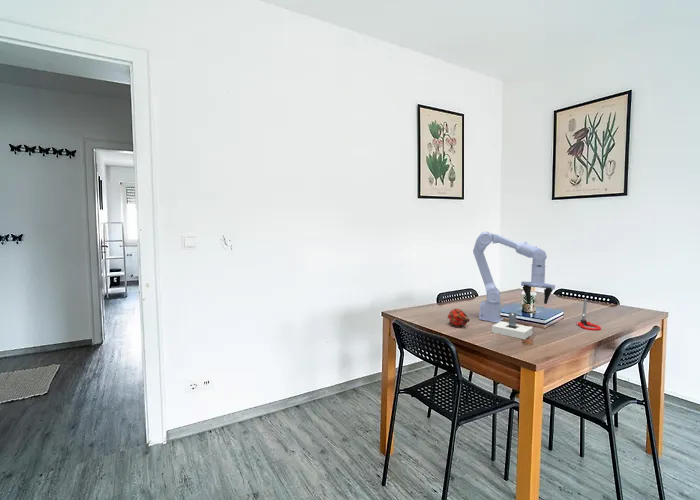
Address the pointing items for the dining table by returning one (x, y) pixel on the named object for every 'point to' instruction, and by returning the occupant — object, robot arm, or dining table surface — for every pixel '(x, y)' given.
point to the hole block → (512, 330)
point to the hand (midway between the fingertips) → (536, 302)
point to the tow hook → (584, 321)
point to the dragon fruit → (458, 317)
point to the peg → (512, 320)
